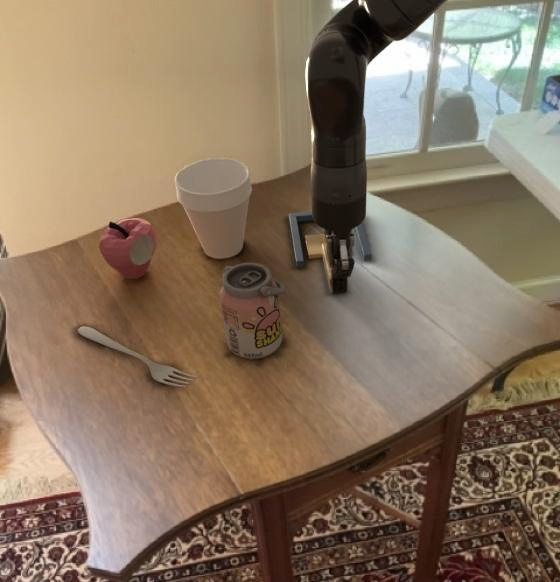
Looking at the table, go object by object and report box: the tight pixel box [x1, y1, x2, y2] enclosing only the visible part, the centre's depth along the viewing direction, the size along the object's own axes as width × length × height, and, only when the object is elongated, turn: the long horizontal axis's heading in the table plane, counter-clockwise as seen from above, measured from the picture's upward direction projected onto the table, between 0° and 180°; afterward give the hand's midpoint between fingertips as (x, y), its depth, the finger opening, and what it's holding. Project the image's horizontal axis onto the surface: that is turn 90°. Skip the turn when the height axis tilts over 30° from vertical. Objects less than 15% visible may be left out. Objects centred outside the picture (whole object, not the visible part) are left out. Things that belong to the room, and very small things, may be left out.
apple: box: [98, 217, 158, 280], centre depth 108 cm, size 10×9×10 cm
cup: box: [174, 157, 253, 260], centre depth 110 cm, size 12×12×14 cm
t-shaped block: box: [304, 233, 334, 294], centre depth 108 cm, size 16×7×3 cm, turn 4°
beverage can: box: [218, 262, 287, 361], centre depth 92 cm, size 9×8×12 cm
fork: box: [77, 325, 199, 388], centre depth 95 cm, size 3×24×2 cm, turn 52°
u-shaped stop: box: [288, 210, 372, 268], centre depth 114 cm, size 15×12×1 cm
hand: (339, 290), depth 101 cm, fingers closed
